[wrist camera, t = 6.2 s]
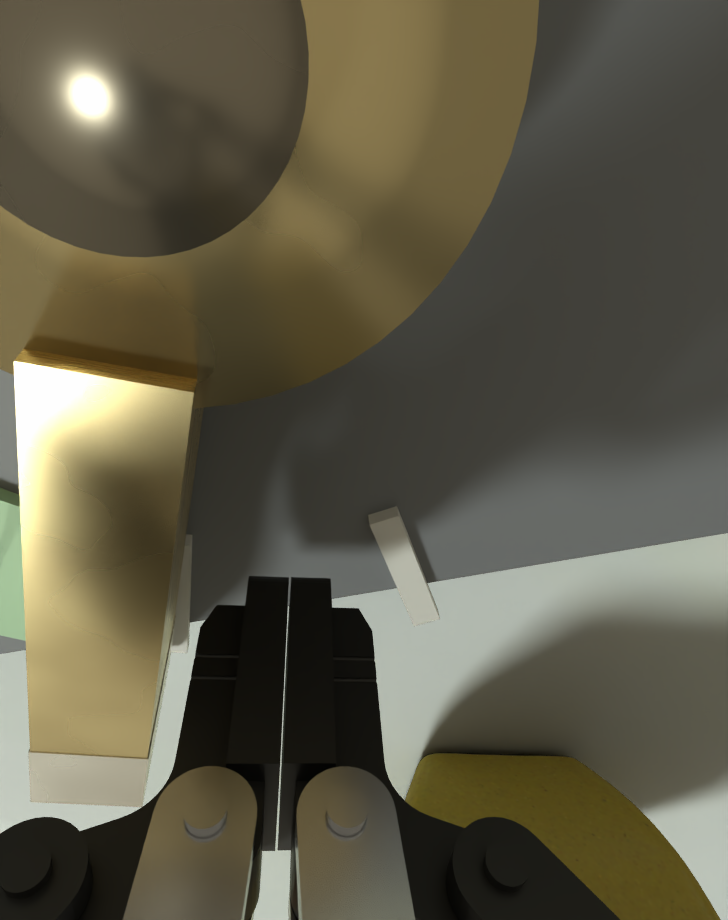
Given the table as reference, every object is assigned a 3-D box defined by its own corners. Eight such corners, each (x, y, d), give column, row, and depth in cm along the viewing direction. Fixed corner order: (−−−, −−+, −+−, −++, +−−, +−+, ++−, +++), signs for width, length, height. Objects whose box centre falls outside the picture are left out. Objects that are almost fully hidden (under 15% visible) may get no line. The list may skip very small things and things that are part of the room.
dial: (-205, -574, 6) (-920, -1387, 2) (551, -252, 7) (775, -469, 4) (-49, 626, 14) (-156, 824, 10) (288, 657, 15) (286, 840, 12)
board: (1102, -1113, 5) (1340, -1442, 4) (725, 524, 16) (761, 568, 15) (-1338, -628, 6) (-1780, -796, 4) (-132, 667, 16) (-168, 722, 15)
